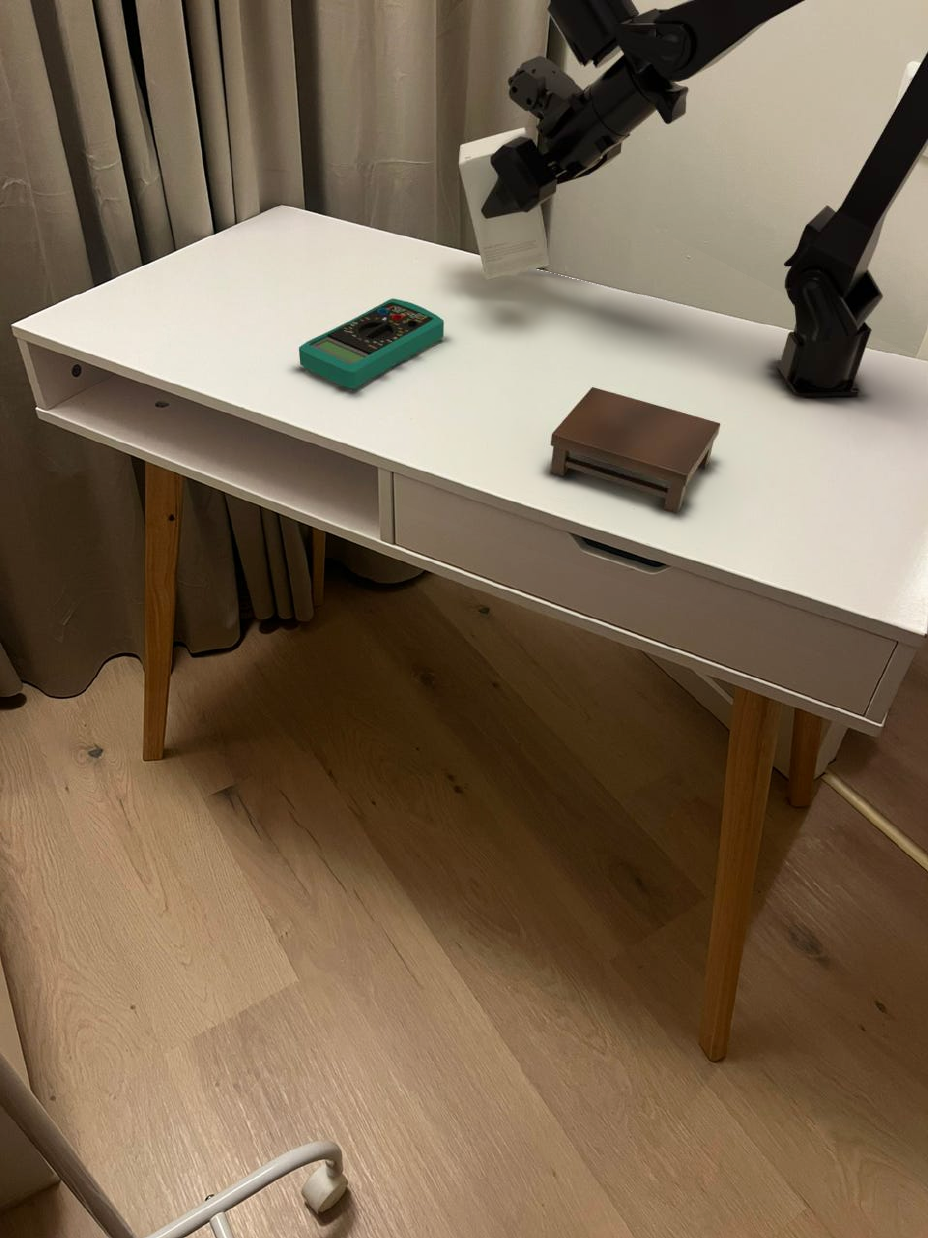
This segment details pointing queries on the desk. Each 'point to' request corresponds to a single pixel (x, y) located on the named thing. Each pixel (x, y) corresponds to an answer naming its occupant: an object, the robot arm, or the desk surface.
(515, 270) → the white packaging box
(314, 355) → the digital multimeter
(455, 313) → the desk surface
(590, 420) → the small table
